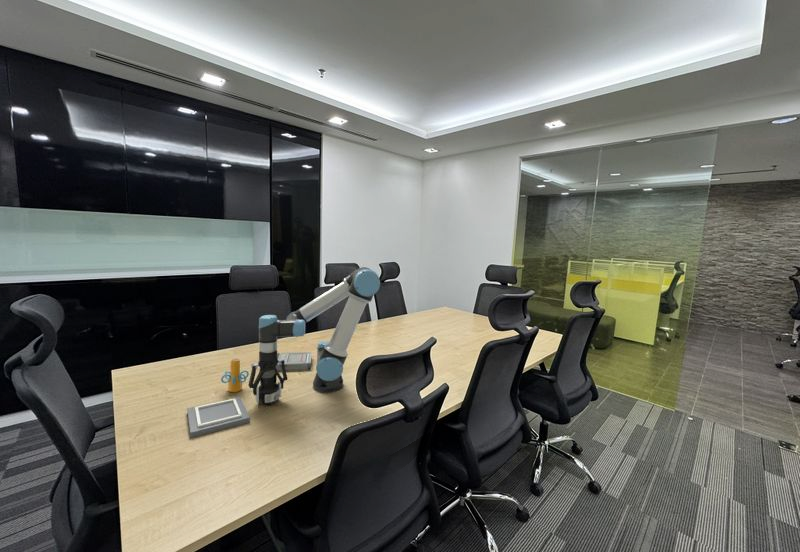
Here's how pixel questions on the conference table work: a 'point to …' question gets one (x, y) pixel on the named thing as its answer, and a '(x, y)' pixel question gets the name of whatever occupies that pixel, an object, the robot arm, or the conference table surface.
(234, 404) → the base plate
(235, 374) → the orange post with loops
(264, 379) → the ink bottle
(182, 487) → the conference table surface
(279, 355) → the hard drive
